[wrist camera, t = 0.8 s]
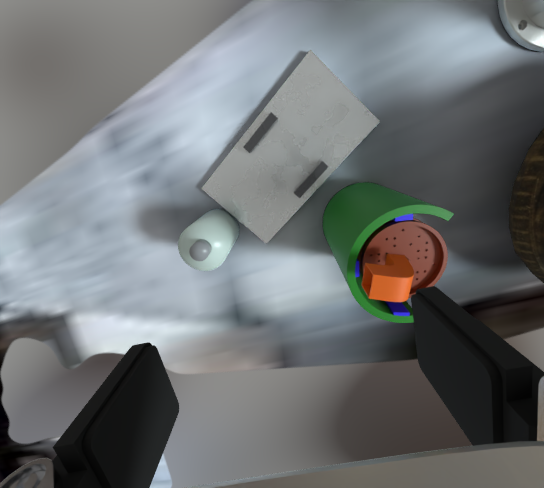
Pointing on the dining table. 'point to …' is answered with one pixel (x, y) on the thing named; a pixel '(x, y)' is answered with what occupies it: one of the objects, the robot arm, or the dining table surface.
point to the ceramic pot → (529, 209)
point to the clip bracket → (290, 149)
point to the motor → (384, 247)
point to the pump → (208, 240)
